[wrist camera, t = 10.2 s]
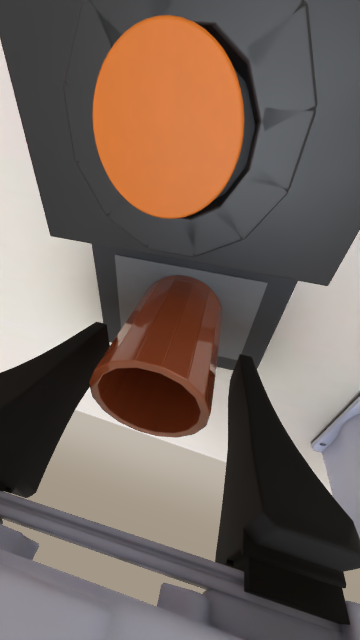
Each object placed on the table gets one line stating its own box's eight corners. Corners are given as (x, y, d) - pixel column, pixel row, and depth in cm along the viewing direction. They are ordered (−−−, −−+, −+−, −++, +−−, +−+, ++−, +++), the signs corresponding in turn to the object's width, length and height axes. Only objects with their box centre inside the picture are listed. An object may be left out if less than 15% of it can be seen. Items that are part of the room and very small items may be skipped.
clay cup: (214, 347, 16) (199, 447, 11) (144, 332, 17) (98, 420, 12) (230, 283, 13) (221, 381, 8) (144, 267, 14) (79, 347, 8)
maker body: (305, 248, 12) (343, 312, 8) (96, 214, 14) (20, 250, 9) (413, 5, 7) (710, -238, 3) (68, -12, 9) (-135, -191, 4)
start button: (228, 212, 7) (224, 228, 6) (127, 197, 7) (101, 209, 6) (261, 53, 5) (267, 18, 4) (121, 43, 5) (78, 8, 4)
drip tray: (253, 365, 18) (254, 376, 17) (111, 333, 20) (105, 342, 19) (301, 257, 13) (306, 266, 12) (97, 223, 14) (88, 228, 13)
